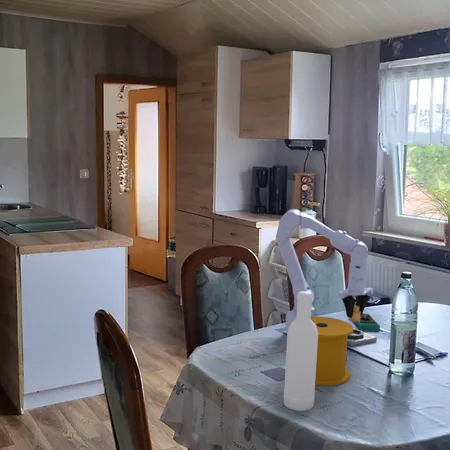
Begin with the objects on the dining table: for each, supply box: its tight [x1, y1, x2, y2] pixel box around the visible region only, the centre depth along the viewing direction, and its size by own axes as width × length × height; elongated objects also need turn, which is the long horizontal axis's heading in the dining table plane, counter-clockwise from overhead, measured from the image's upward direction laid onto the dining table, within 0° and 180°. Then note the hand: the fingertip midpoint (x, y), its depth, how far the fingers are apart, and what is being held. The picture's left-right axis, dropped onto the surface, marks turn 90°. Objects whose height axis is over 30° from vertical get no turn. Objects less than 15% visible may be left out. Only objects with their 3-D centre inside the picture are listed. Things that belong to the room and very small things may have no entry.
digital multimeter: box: [353, 312, 381, 332], centre depth 233 cm, size 7×15×3 cm, turn 2°
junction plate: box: [347, 327, 378, 347], centre depth 217 cm, size 12×12×2 cm
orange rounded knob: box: [347, 304, 361, 323], centre depth 215 cm, size 4×4×5 cm
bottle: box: [283, 291, 318, 412], centre depth 160 cm, size 8×8×30 cm
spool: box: [291, 315, 354, 387], centre depth 183 cm, size 18×18×15 cm
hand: (354, 316), depth 215 cm, fingers closed on orange rounded knob, 4 cm apart
